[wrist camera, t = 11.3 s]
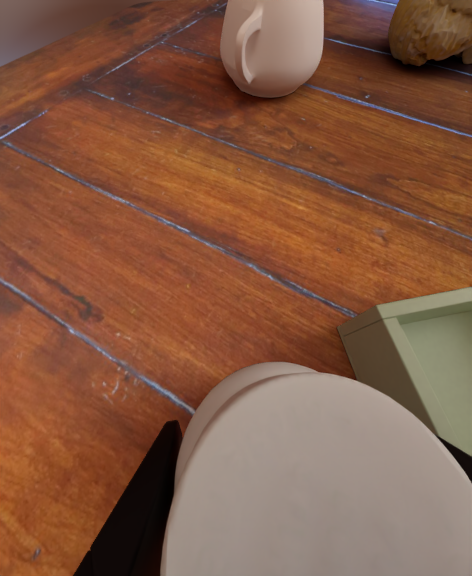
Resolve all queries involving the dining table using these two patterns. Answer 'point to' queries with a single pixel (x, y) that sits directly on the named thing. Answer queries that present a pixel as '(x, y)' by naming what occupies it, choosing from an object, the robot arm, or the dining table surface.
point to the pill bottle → (313, 484)
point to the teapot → (272, 44)
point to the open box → (419, 358)
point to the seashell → (431, 30)
